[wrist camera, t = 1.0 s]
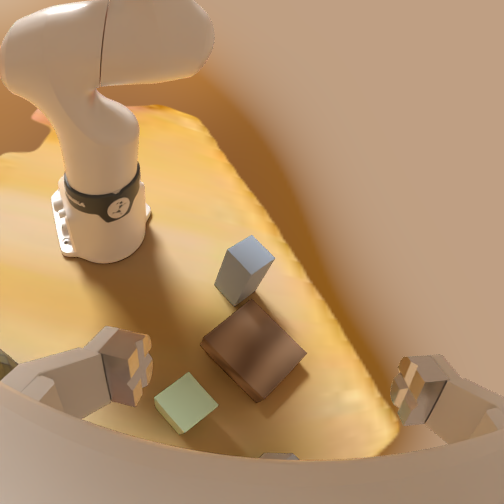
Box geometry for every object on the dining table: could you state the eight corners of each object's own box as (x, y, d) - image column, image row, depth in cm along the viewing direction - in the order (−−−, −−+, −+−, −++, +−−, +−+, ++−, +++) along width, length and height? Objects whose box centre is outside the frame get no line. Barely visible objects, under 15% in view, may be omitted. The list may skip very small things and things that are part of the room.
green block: (155, 407, 36) (153, 397, 28) (182, 387, 39) (188, 371, 31) (179, 434, 35) (184, 432, 27) (205, 413, 37) (219, 405, 30)
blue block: (214, 284, 50) (227, 249, 43) (235, 270, 53) (251, 234, 46) (234, 306, 49) (251, 274, 41) (255, 291, 52) (275, 258, 44)
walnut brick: (199, 346, 44) (203, 337, 41) (244, 309, 50) (251, 298, 47) (255, 403, 41) (264, 399, 38) (296, 360, 47) (307, 353, 44)
